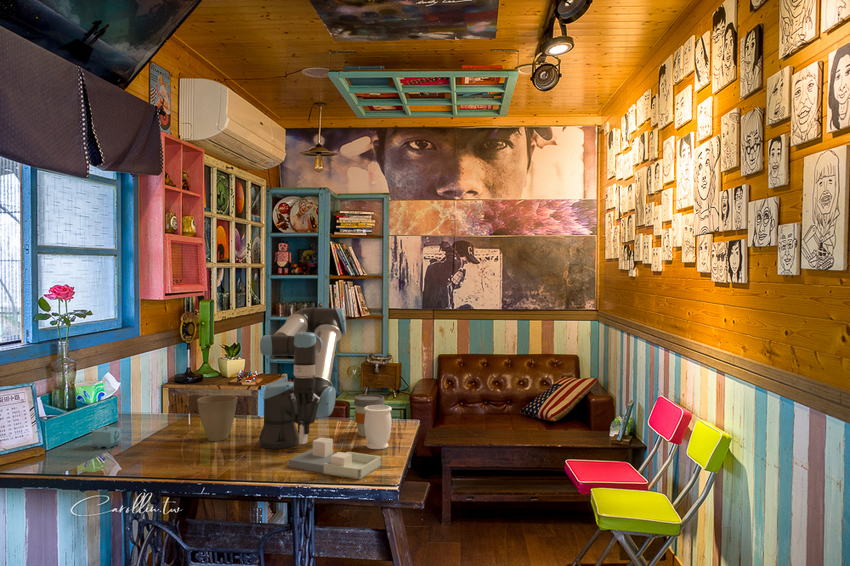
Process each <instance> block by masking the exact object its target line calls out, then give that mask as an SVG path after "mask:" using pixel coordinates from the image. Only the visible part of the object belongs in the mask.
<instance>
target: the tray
mask: <svg viewBox="0 0 850 566" xmlns="http://www.w3.org/2000/svg"><path fill="white" fill-rule="evenodd" d="M345 453H349V454H352V467H346V466H340V465H334V464H328V463H324V473H323V474H324V475H330V476H337V477H342V478H348V479H354V480H359V481H360V480H362V479H363V478H365V477H366V476H368V475H370V474H371V473H373V472H375V471H376V470H377V469H379V468H381V467H382V458H383V457H382V456H381V455H380V456H379V455H373V454H367V453H360V452H354V451H353V452H352V451H346V452H345Z"/></svg>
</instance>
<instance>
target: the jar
mask: <svg viewBox="0 0 850 566" xmlns="http://www.w3.org/2000/svg"><path fill="white" fill-rule="evenodd" d="M365 411H366V414H365V420H364V427H365V435H366V436H365V438H366V439H365V440H366V441H367V444H366V447H367V449H371V450H384V449H387V448H388V447H389V443H388V441H389V439H390V436H391V431H392V424H393V423H392V415H391V412H392V406H389V405H385V404H384V405H370V406H366V407H365Z"/></svg>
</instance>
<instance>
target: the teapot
mask: <svg viewBox="0 0 850 566" xmlns="http://www.w3.org/2000/svg"><path fill="white" fill-rule="evenodd" d="M89 430H90V431H91V433H92V439H91V447H96V449H97V450H98V449H102V448H103V447H104V448H105V449H106V450H108V449H111V448H112V447H115V446H117V445H118V444H120V443H121V442H122V440H121V439H122V432H121V430H122V428H121V427H110V426H109V425H107V426H103V427H100V428H98V429H94V428H89Z"/></svg>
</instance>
